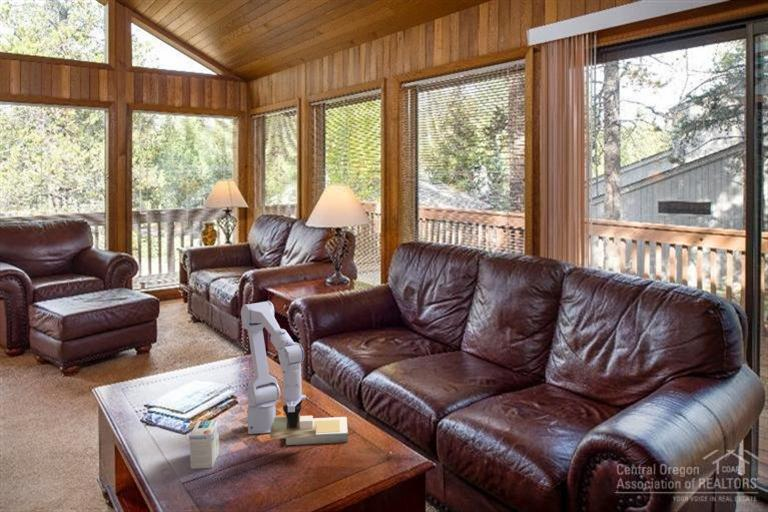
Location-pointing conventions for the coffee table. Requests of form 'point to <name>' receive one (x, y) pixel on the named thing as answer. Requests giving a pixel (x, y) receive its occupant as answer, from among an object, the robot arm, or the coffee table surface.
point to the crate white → (306, 422)
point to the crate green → (280, 423)
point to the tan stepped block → (293, 431)
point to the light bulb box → (204, 444)
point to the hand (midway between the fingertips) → (293, 424)
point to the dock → (325, 432)
